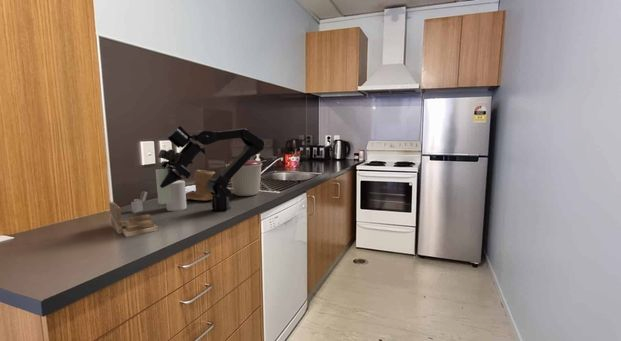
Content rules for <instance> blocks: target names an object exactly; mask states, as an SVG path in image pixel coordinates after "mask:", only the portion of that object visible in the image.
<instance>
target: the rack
mask: <svg viewBox="0 0 621 341" xmlns="http://www.w3.org/2000/svg"><path fill="white" fill-rule="evenodd" d="M108 204H109V214H110V222H111V224H110V226H111V227H112V229H113V230H114V231H115V232H116V233H117V234H118V235H121V234H123V235H124V236H125V237H126V238H129V237H133V236H136V235H137V236H138V235H141V234H142V235H143V234H146V233H147V234H149V233H151V232H157V231H159V226H158V225H157V224H155V223H154V227H151V228H146V229H141V230H136V231H131V232H128V231H127V230H126V226H125V225H126V221H127V220H124V221H122V220H123V219H122V209H121V206H119V205H118V204H117V203H115V202H114V201H109V202H108ZM128 221H130V219H129V220H128ZM123 227H125V228H123Z"/></svg>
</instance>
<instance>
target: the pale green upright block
mask: <svg viewBox="0 0 621 341" xmlns="http://www.w3.org/2000/svg"><path fill="white" fill-rule="evenodd" d="M167 175H168V169H163V168H158V169H155V180H156V189H157V190H156V193H157V203H158V204H159V205H166V203H172V200H171V187H170V184H169V185H167V186H165V187H163V188H162V187H160V185H161V184H162V182H163V181H164V179H165V178H166V176H167Z"/></svg>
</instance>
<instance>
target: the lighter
mask: <svg viewBox="0 0 621 341" xmlns="http://www.w3.org/2000/svg"><path fill="white" fill-rule="evenodd" d="M147 196H148V192H147V191H142V192H141V195H140V197H139V198H136V199H135V198H134V199H133V201H131V202H130V203H131V213H133V214H134V213H139V212H144V211H143V210H144V209H143V208H144V207H143V202H146V200H147Z"/></svg>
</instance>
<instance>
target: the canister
mask: <svg viewBox="0 0 621 341" xmlns="http://www.w3.org/2000/svg"><path fill="white" fill-rule="evenodd" d="M232 162H233V161H231V162H229V163H228V164H227V167H228V166H229V165H230V164H231V163H232ZM262 166H263V162H261V161H259V160H256V159H255V160H254V159H253V160H252V159H249V160H248V161H247V162H246V163H245V164H244V165H243V166H242V167H241V168H240V169H239V170H238V172H237V173H236V174H235V175H234V176H233V177H232V178H231V179H230V182H231V183H230V184H231V187H232V192H233V193H234V195H235V196H239V197H252V196H255V195H257V194H258V193H259V191H260V188H261V186H260V185H261V176H262Z"/></svg>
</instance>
